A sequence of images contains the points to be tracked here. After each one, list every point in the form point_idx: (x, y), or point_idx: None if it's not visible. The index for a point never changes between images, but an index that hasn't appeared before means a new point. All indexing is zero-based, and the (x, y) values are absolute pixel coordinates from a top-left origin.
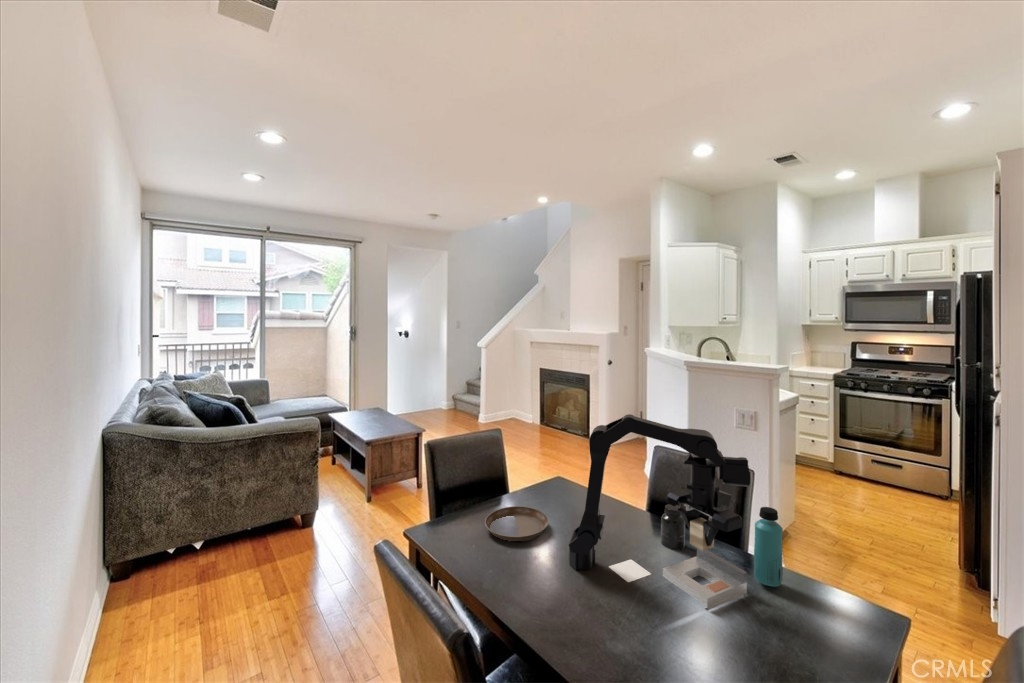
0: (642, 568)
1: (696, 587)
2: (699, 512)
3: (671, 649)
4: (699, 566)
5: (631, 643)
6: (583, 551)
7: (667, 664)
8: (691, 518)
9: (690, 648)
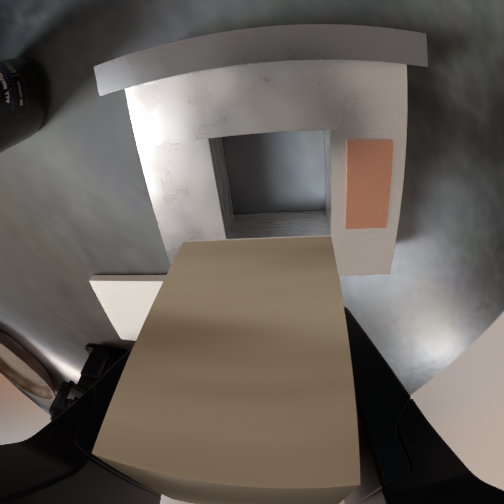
0: (135, 284)
1: None
2: (44, 492)
3: (396, 370)
4: (205, 137)
5: None
6: None
7: (408, 384)
8: (138, 493)
9: (418, 349)
